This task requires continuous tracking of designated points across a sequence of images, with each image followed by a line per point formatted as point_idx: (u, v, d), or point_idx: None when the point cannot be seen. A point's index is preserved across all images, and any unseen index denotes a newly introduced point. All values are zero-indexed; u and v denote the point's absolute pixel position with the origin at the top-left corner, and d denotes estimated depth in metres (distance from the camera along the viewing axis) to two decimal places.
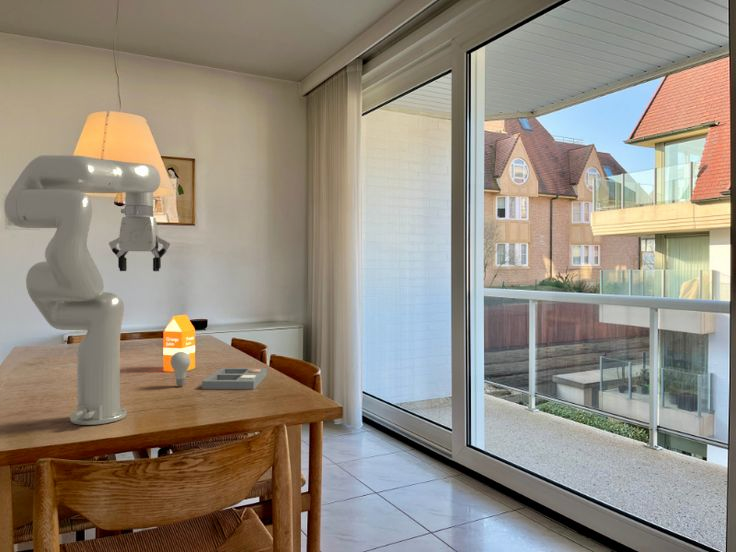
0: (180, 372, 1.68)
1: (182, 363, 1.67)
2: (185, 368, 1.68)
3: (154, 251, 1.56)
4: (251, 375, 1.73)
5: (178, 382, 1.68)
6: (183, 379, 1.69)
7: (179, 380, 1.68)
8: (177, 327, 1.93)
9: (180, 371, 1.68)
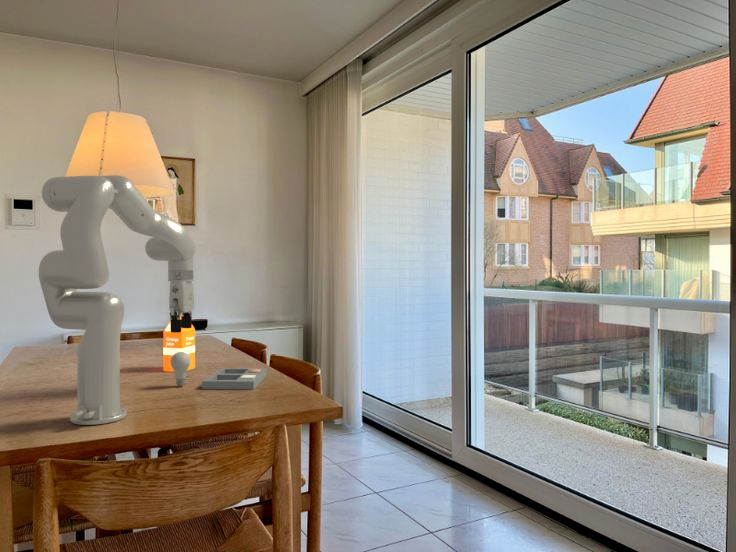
0: (180, 372, 1.68)
1: (182, 363, 1.67)
2: (185, 368, 1.68)
3: (190, 310, 1.74)
4: (251, 375, 1.73)
5: (178, 382, 1.68)
6: (183, 379, 1.69)
7: (179, 380, 1.68)
8: None
9: (180, 371, 1.68)
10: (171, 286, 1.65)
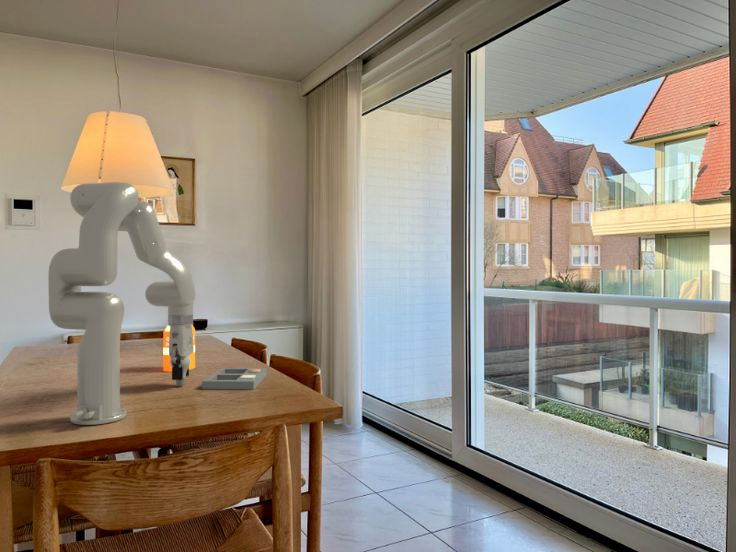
0: None
1: (182, 363, 1.67)
2: (185, 368, 1.68)
3: None
4: (251, 375, 1.73)
5: (178, 382, 1.68)
6: (183, 379, 1.69)
7: (179, 380, 1.68)
8: None
9: None
10: (171, 331, 1.65)
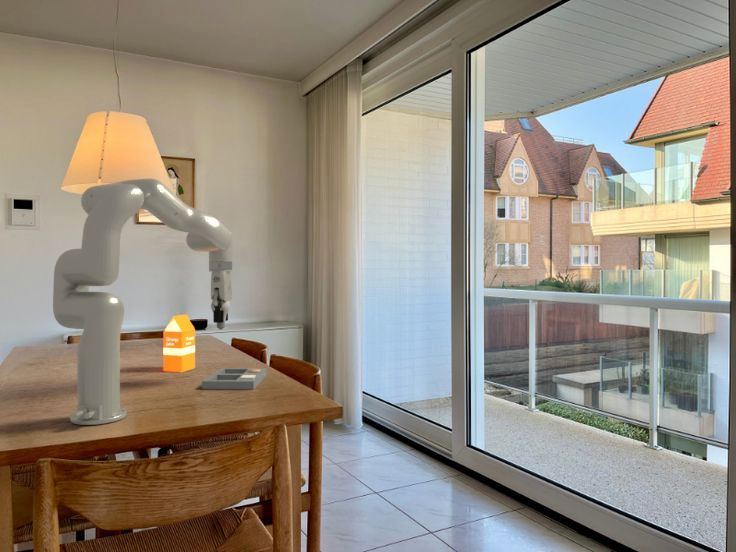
0: None
1: (223, 306, 1.75)
2: (225, 312, 1.77)
3: None
4: (251, 375, 1.73)
5: (219, 325, 1.77)
6: (224, 323, 1.78)
7: (219, 323, 1.77)
8: (177, 327, 1.93)
9: None
10: (212, 276, 1.73)
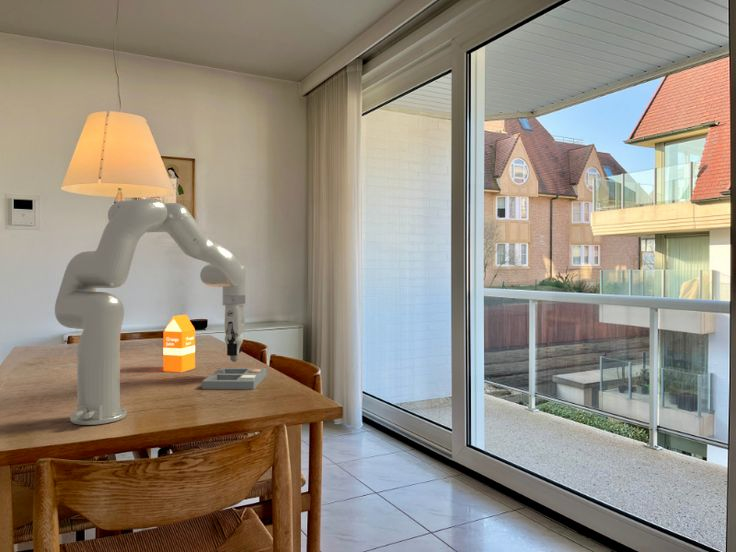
0: None
1: (236, 340, 1.79)
2: (239, 345, 1.80)
3: None
4: (251, 375, 1.73)
5: (232, 358, 1.80)
6: (237, 355, 1.81)
7: (233, 356, 1.80)
8: (177, 327, 1.93)
9: None
10: (226, 310, 1.77)
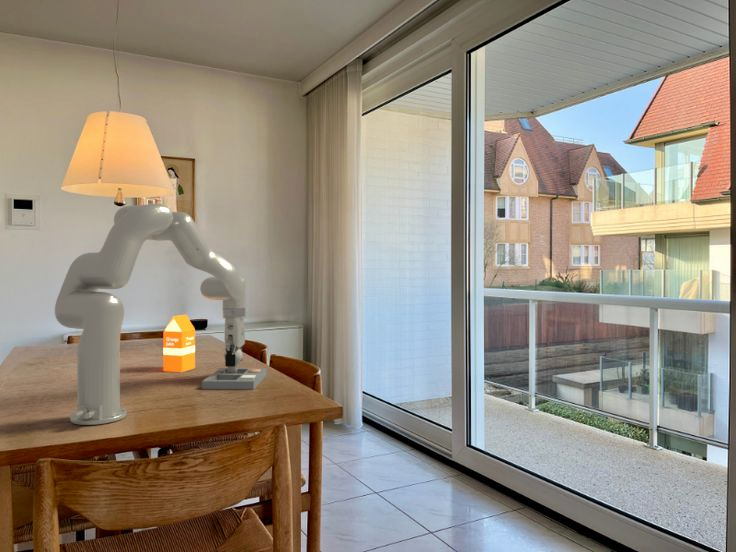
0: None
1: (236, 356, 1.79)
2: (238, 361, 1.80)
3: None
4: (251, 375, 1.73)
5: None
6: (235, 372, 1.81)
7: (232, 372, 1.80)
8: (177, 327, 1.93)
9: None
10: (226, 323, 1.77)
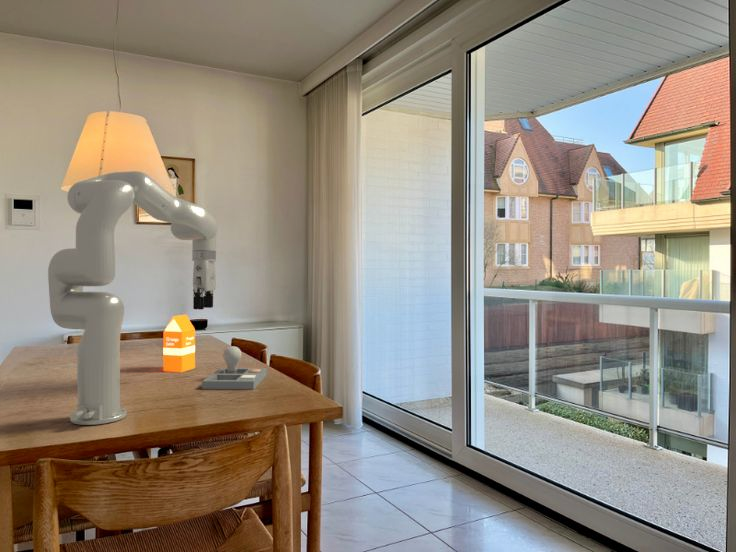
0: (232, 365, 1.80)
1: (235, 356, 1.79)
2: (237, 361, 1.80)
3: (212, 290, 1.81)
4: (251, 375, 1.73)
5: None
6: (235, 372, 1.81)
7: (231, 372, 1.80)
8: (177, 327, 1.93)
9: (232, 364, 1.80)
10: (195, 265, 1.72)
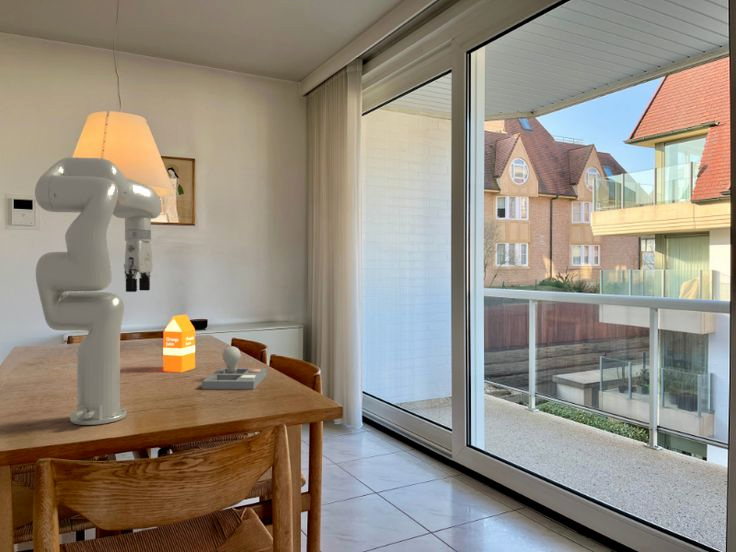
0: (232, 365, 1.79)
1: (234, 356, 1.79)
2: (236, 361, 1.80)
3: (148, 272, 1.73)
4: (251, 375, 1.73)
5: None
6: (235, 372, 1.81)
7: (231, 373, 1.80)
8: (177, 327, 1.93)
9: (232, 364, 1.79)
10: (127, 245, 1.63)
